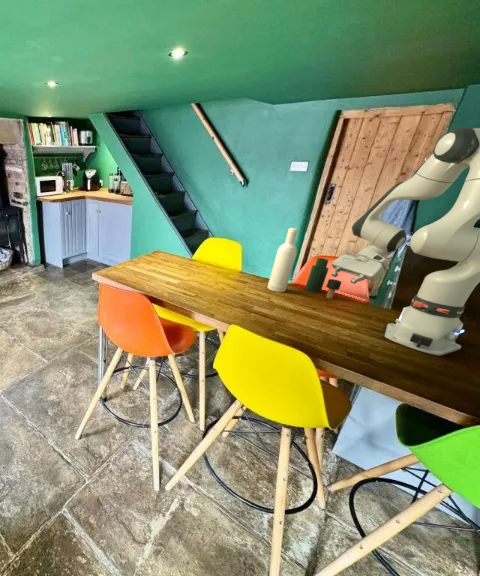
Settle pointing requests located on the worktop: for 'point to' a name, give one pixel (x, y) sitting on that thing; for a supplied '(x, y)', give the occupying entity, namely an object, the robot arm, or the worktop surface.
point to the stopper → (332, 287)
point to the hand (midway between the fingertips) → (342, 279)
